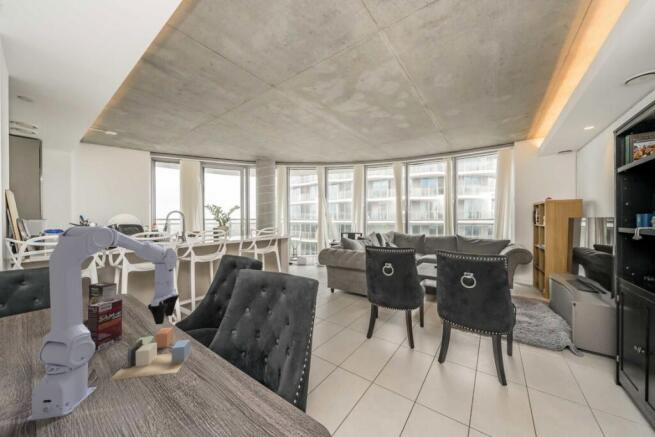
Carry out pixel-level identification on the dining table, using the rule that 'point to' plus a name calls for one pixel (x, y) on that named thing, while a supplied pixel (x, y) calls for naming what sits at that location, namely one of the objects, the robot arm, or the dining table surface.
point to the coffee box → (102, 292)
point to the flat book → (146, 339)
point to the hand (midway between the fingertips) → (164, 319)
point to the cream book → (146, 354)
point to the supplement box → (105, 323)
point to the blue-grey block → (180, 350)
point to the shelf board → (151, 368)
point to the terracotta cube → (164, 337)
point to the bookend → (132, 354)
